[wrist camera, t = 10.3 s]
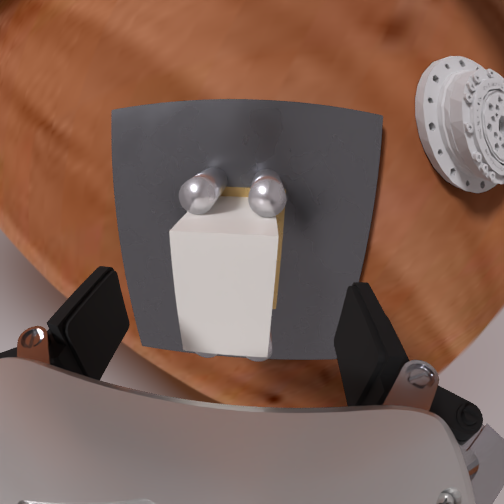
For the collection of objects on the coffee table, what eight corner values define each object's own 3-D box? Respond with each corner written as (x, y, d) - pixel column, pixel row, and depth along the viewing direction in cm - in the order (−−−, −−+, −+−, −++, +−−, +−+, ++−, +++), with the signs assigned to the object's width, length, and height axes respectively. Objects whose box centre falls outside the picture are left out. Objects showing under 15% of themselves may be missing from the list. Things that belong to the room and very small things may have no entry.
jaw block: (203, 195, 15) (169, 231, 10) (273, 198, 15) (278, 236, 10) (205, 286, 18) (183, 350, 12) (267, 290, 18) (266, 357, 12)
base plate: (119, 110, 14) (72, 108, 10) (376, 116, 14) (417, 112, 9) (146, 338, 22) (125, 380, 17) (334, 350, 21) (346, 397, 17)
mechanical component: (513, 122, 12) (440, 34, 11) (548, 128, 8) (475, 20, 7) (472, 213, 16) (388, 129, 14) (507, 233, 12) (424, 131, 10)
